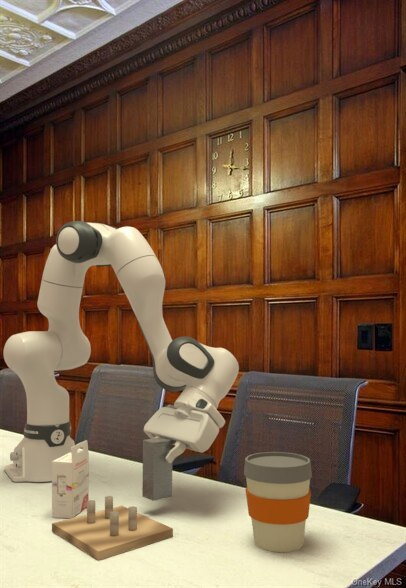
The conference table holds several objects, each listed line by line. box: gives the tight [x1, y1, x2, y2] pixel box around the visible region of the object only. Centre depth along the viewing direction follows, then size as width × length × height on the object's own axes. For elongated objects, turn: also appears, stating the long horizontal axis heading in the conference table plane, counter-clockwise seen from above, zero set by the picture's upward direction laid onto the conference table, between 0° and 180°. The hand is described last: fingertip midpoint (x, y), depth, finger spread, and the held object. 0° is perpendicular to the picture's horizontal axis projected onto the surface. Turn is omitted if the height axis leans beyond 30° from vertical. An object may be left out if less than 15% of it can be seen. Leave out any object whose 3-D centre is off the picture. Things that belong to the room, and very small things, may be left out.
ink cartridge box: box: [51, 439, 90, 519], centre depth 117 cm, size 9×5×15 cm, turn 168°
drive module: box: [141, 437, 173, 502], centre depth 116 cm, size 4×5×12 cm
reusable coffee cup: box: [243, 451, 313, 553], centre depth 99 cm, size 12×13×15 cm
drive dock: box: [51, 495, 174, 561], centre depth 104 cm, size 18×16×6 cm
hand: (158, 458), depth 117 cm, fingers closed on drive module, 4 cm apart
